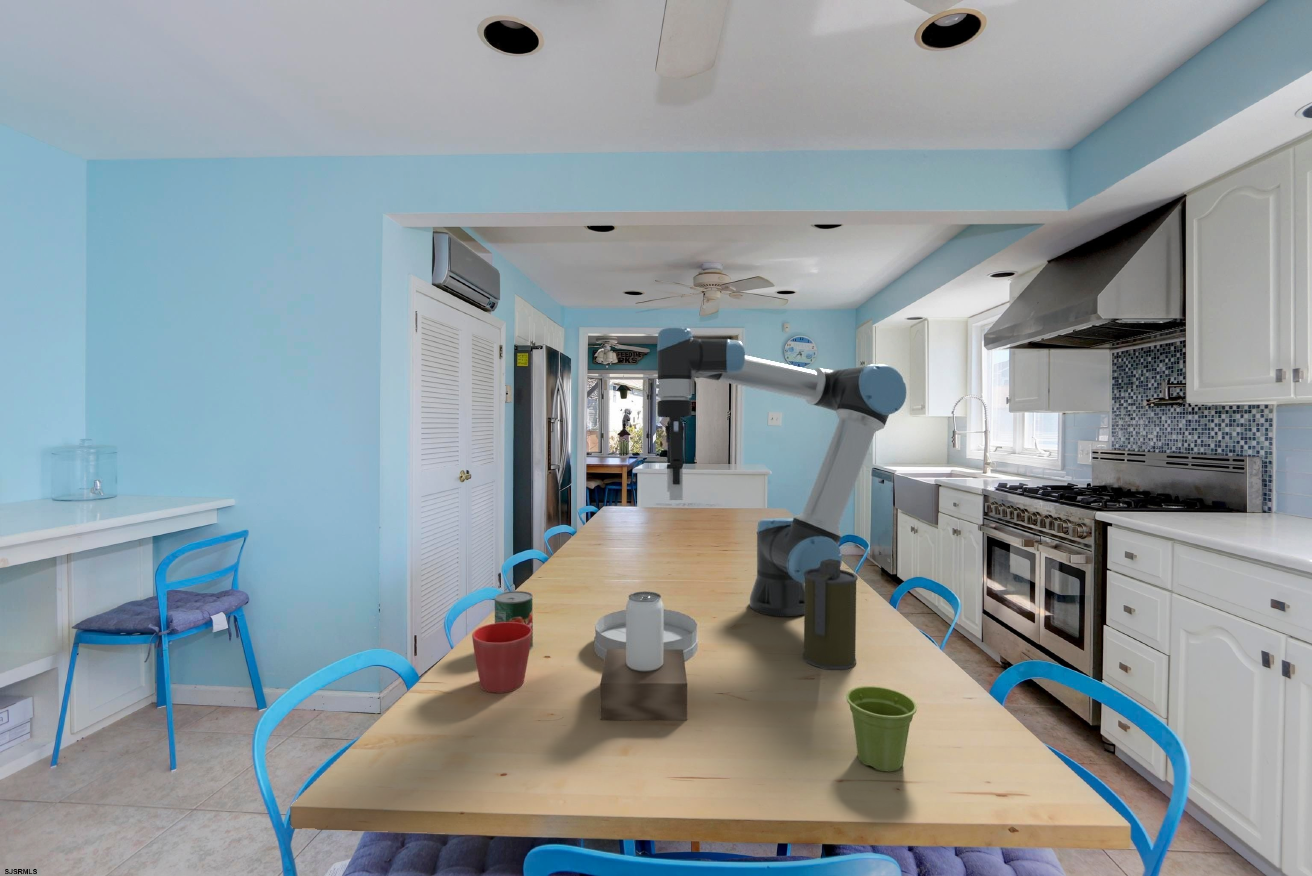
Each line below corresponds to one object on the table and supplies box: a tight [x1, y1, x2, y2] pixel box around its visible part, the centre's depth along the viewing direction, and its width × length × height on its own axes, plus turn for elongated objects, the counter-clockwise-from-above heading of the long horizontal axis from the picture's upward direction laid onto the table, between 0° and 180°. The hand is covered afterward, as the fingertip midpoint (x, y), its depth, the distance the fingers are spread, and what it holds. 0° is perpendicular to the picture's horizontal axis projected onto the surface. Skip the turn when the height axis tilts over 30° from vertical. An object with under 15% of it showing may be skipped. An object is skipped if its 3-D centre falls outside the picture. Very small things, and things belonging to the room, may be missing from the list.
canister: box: [802, 559, 858, 671], centre depth 120 cm, size 11×10×20 cm
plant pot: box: [845, 685, 918, 772], centre depth 85 cm, size 9×9×9 cm
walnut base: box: [599, 649, 688, 721], centre depth 103 cm, size 14×14×6 cm
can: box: [625, 590, 664, 672], centre depth 102 cm, size 6×6×12 cm
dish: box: [593, 608, 699, 662], centre depth 127 cm, size 22×22×5 cm
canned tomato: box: [494, 590, 534, 650], centre depth 125 cm, size 8×8×11 cm
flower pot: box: [471, 622, 532, 694], centre depth 108 cm, size 11×11×10 cm
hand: (674, 495), depth 131 cm, fingers open, 13 cm apart
